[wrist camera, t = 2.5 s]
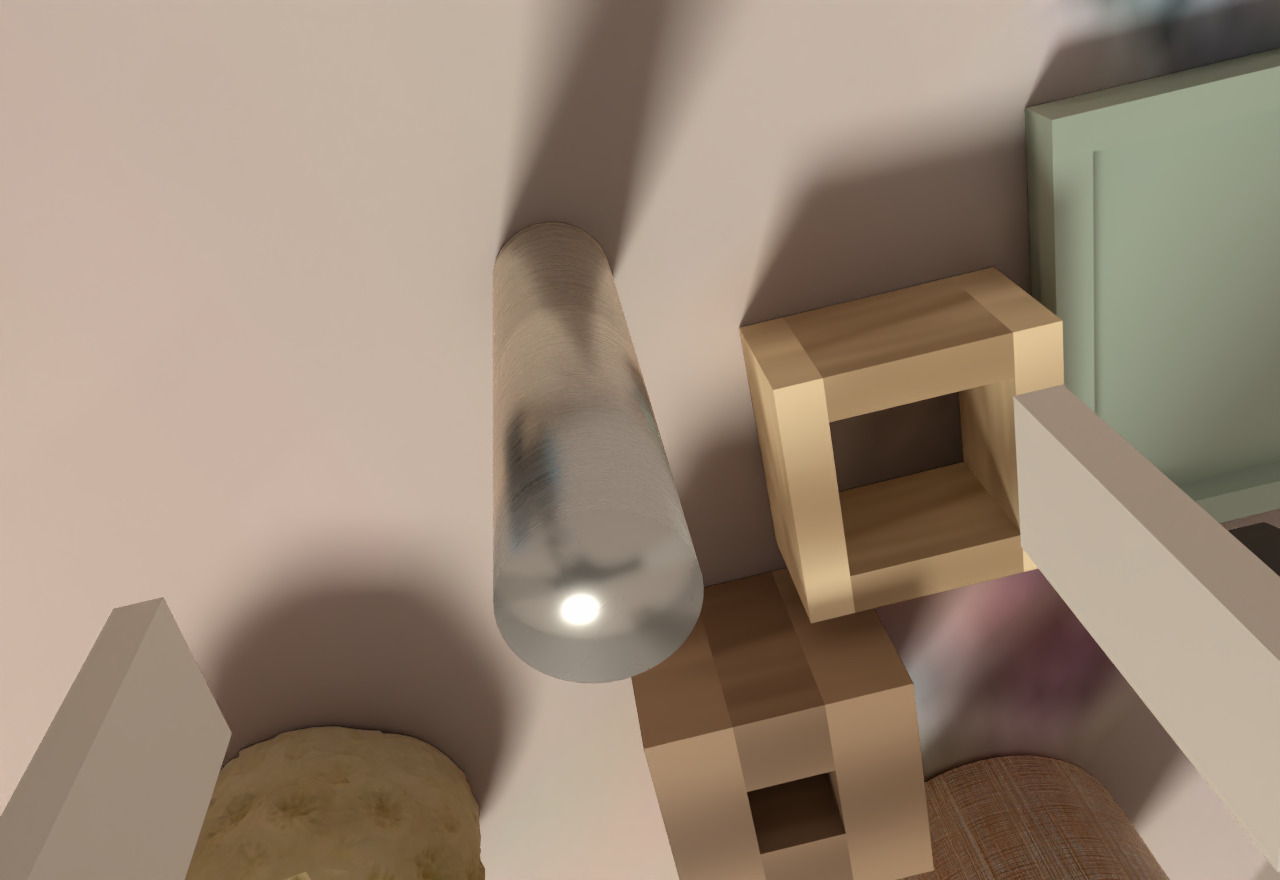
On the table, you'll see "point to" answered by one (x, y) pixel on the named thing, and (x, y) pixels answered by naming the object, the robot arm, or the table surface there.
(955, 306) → the block
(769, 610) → the block
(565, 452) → the cylinder
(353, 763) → the decorative item
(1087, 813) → the planter
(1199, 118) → the tray
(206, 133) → the table surface
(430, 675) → the table surface
